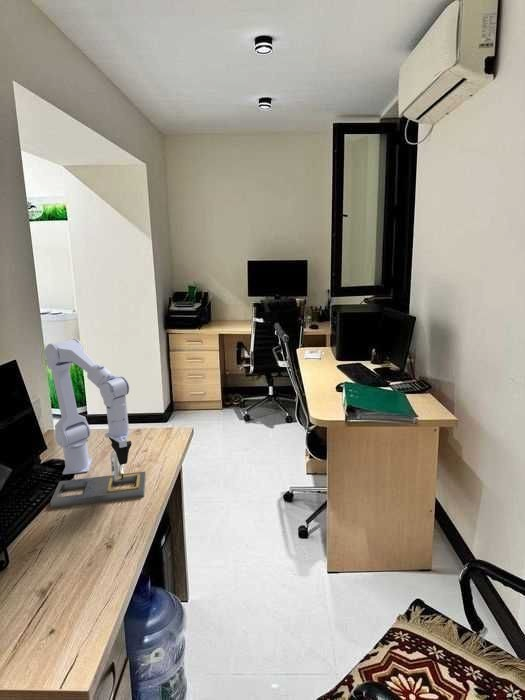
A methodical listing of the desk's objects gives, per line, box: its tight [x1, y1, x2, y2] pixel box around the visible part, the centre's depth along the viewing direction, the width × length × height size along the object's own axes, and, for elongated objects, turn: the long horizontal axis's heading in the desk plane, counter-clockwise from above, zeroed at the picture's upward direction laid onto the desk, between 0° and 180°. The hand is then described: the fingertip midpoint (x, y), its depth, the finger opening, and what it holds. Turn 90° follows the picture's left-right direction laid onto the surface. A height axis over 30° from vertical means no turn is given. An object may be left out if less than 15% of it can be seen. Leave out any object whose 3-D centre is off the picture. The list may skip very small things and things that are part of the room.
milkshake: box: [109, 449, 126, 481], centre depth 140 cm, size 4×5×10 cm
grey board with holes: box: [49, 471, 147, 509], centre depth 141 cm, size 12×26×2 cm, turn 101°
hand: (122, 460), depth 140 cm, fingers closed on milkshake, 4 cm apart
